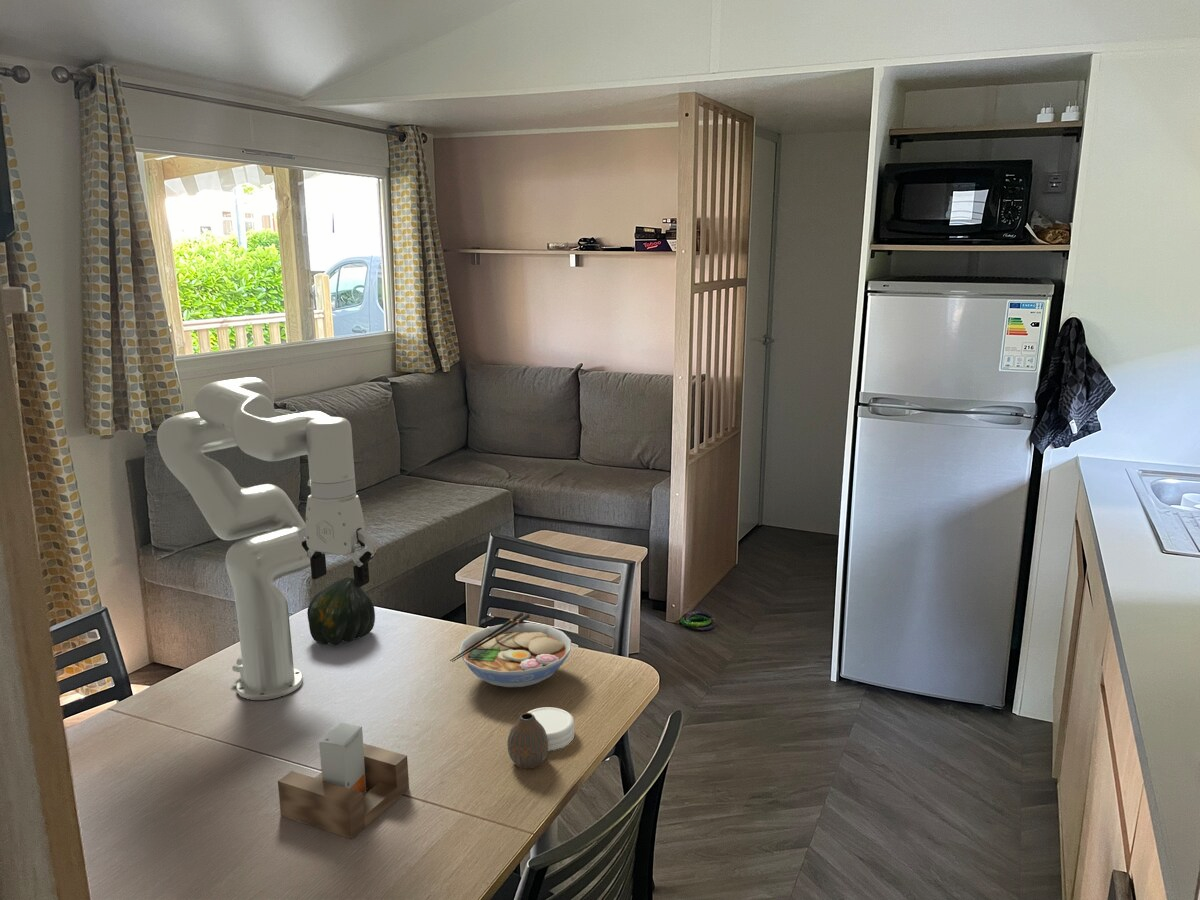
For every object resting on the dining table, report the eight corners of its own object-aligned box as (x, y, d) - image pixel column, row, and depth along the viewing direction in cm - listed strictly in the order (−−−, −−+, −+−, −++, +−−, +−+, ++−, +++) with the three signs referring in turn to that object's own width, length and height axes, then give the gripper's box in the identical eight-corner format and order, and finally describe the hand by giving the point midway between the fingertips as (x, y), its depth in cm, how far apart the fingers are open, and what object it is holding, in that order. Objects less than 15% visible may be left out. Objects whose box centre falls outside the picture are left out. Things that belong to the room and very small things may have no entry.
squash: (283, 622, 197) (317, 579, 192) (325, 599, 211) (359, 559, 206) (325, 669, 196) (361, 627, 190) (365, 643, 209) (400, 604, 204)
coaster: (579, 725, 165) (579, 708, 164) (568, 755, 155) (567, 737, 154) (526, 721, 167) (526, 703, 166) (512, 750, 157) (512, 732, 156)
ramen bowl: (525, 721, 166) (523, 681, 164) (432, 690, 178) (430, 652, 176) (596, 668, 187) (596, 631, 185) (509, 643, 198) (508, 609, 197)
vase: (554, 755, 155) (553, 709, 153) (539, 777, 149) (537, 729, 147) (518, 748, 157) (516, 703, 155) (501, 769, 151) (499, 722, 149)
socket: (281, 815, 139) (277, 781, 138) (341, 768, 152) (339, 736, 150) (352, 839, 133) (349, 803, 132) (409, 788, 146) (407, 755, 144)
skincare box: (347, 814, 139) (342, 745, 136) (323, 810, 140) (317, 741, 138) (368, 792, 145) (363, 725, 142) (344, 788, 146) (339, 721, 143)
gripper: (279, 488, 155) (288, 580, 159) (358, 499, 148) (365, 595, 152) (310, 478, 162) (317, 567, 166) (387, 488, 155) (393, 581, 159)
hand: (340, 580), depth 159 cm, fingers open, 9 cm apart
